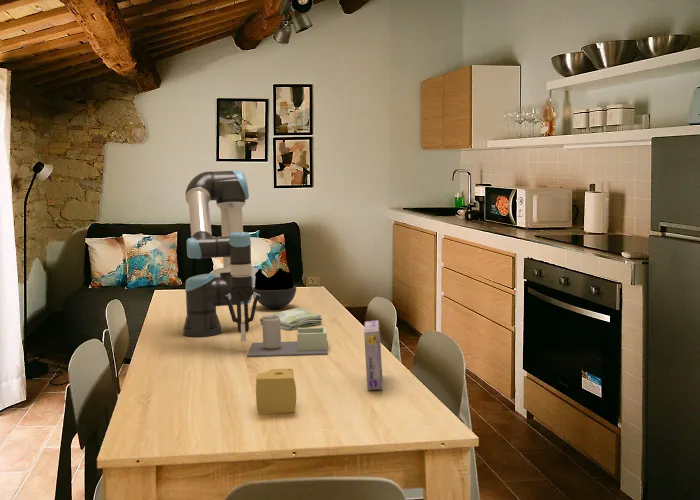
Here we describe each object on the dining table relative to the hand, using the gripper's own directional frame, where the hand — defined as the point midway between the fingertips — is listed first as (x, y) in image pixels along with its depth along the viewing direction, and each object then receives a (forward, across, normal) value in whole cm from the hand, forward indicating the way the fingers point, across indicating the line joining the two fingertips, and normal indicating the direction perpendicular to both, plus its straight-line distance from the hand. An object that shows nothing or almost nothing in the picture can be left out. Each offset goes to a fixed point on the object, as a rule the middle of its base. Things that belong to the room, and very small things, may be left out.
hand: (243, 340), depth 287 cm
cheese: (+5, -16, +70) cm, 72 cm away
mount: (+4, -16, 0) cm, 16 cm away
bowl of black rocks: (+3, -6, -83) cm, 84 cm away
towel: (+4, -15, -46) cm, 49 cm away
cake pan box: (+5, -44, +47) cm, 64 cm away
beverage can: (+3, -10, 0) cm, 11 cm away
